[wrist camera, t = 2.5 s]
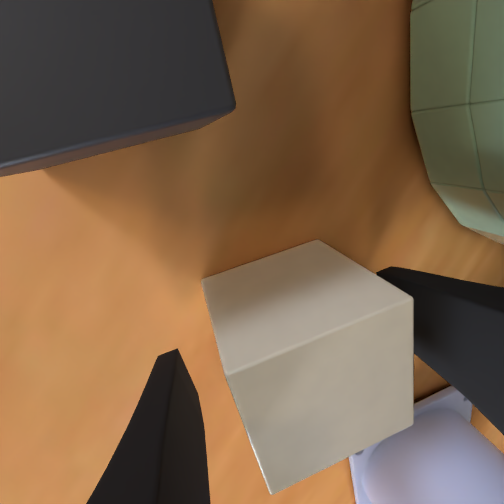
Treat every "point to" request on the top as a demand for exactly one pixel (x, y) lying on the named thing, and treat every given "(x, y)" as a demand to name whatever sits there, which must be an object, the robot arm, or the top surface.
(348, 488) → the top surface
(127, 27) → the black cube
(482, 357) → the robot arm
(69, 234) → the top surface
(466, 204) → the bowl
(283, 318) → the cream cube
